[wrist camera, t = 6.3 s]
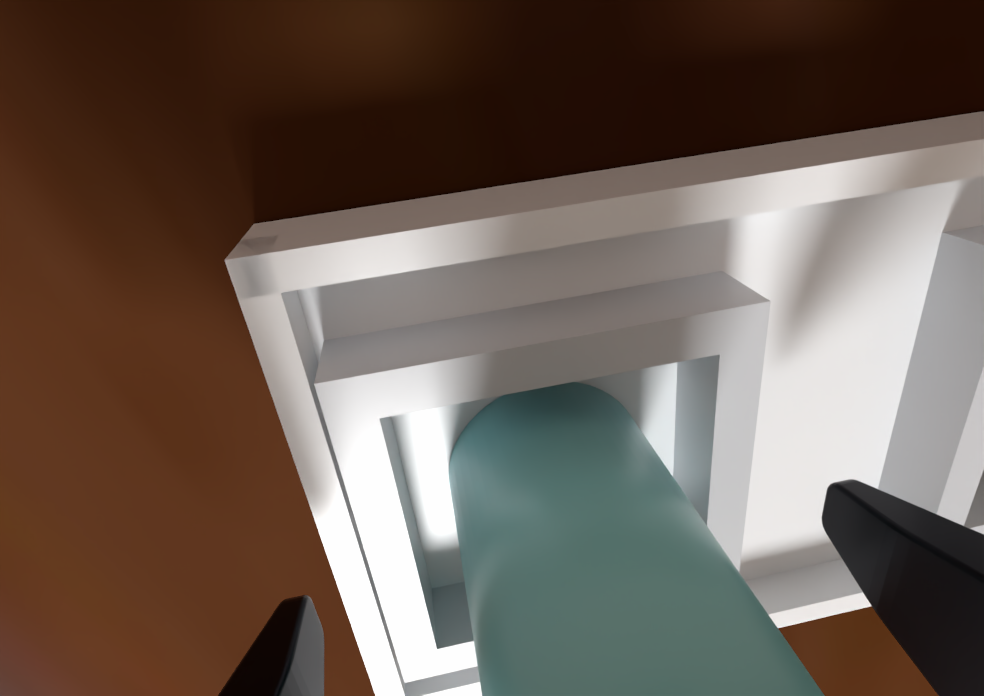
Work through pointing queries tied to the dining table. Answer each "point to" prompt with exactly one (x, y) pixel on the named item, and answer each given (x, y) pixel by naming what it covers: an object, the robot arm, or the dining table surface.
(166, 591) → the dining table surface
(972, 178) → the housing
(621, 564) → the teal capsule cylinder
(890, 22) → the dining table surface
